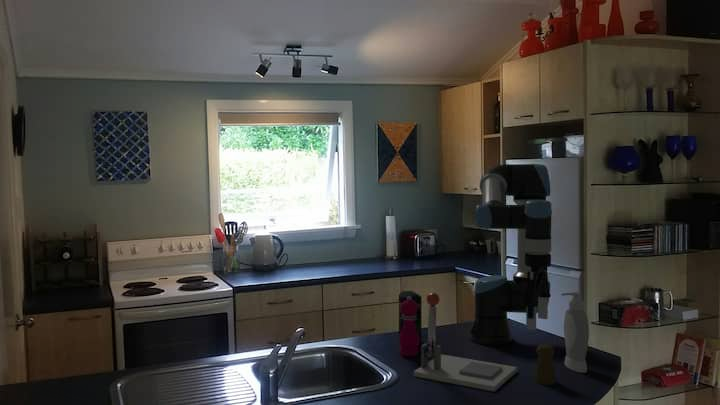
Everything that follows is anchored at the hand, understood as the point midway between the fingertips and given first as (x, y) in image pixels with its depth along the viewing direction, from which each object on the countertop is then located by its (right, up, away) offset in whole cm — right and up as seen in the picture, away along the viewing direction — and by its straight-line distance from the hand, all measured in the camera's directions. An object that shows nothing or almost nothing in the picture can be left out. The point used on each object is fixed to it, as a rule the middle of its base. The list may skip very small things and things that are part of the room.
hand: (537, 323), depth 193 cm
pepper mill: (-36, -16, +31) cm, 50 cm away
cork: (+3, -18, +2) cm, 18 cm away
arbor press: (-21, -17, +9) cm, 29 cm away
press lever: (-30, -13, +10) cm, 35 cm away
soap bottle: (+15, -17, +13) cm, 26 cm away
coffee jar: (-34, -15, +44) cm, 58 cm away
